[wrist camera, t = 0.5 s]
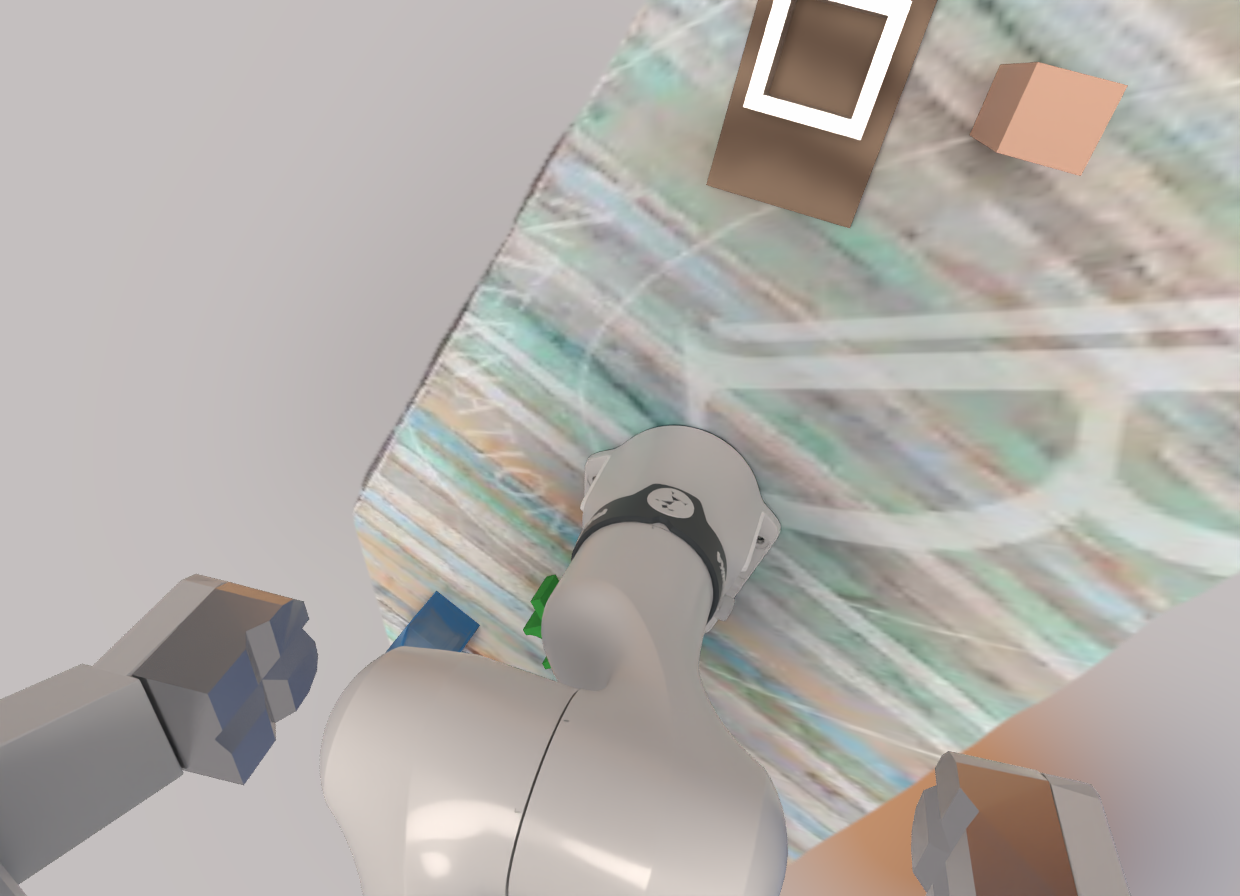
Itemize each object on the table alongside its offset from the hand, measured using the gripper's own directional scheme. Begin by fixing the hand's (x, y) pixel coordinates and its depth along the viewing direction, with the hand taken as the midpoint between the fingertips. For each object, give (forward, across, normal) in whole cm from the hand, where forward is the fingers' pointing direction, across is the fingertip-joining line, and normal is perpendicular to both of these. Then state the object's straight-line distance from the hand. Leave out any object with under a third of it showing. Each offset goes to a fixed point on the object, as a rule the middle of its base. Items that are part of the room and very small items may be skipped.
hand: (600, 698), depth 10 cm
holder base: (+54, +2, +1) cm, 54 cm away
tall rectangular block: (+53, +15, 0) cm, 55 cm away
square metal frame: (+52, +2, +2) cm, 53 cm away
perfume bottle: (+49, -28, -59) cm, 81 cm away
